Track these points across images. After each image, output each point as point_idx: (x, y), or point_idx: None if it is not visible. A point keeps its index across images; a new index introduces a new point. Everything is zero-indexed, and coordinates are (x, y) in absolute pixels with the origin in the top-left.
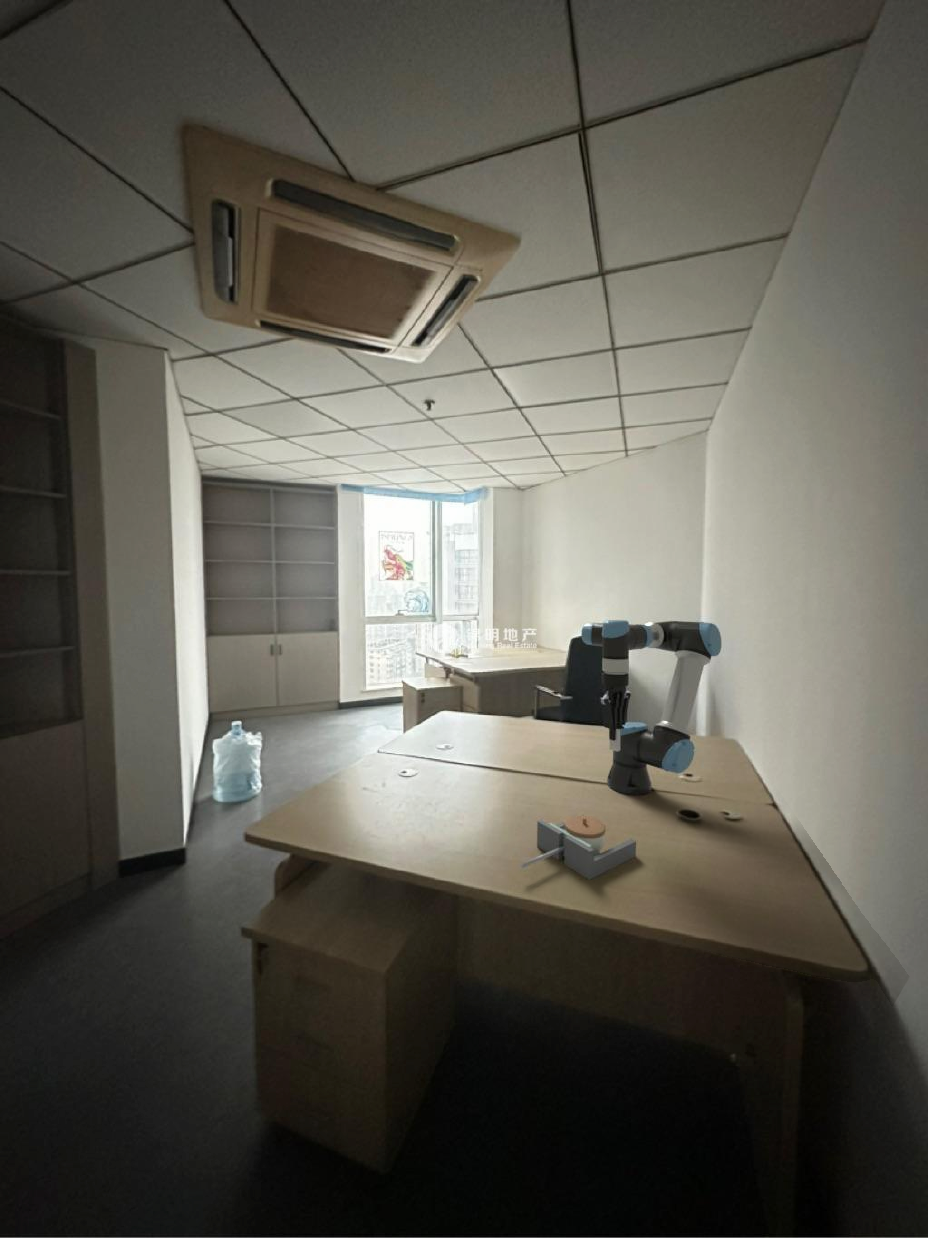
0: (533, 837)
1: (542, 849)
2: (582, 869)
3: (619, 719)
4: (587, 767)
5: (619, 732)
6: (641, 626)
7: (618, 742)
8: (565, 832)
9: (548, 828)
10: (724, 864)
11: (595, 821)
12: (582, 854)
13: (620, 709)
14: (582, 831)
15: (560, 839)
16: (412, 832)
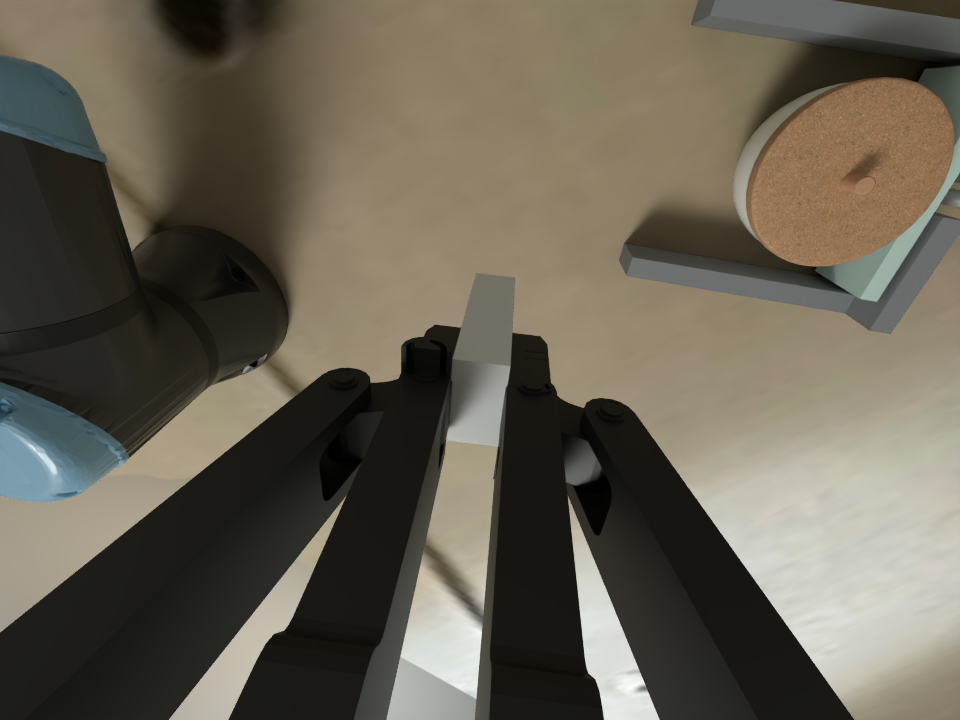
0: (782, 333)
1: None
2: None
3: (434, 443)
4: (226, 450)
5: (472, 344)
6: None
7: (495, 304)
8: (922, 215)
9: (924, 278)
10: None
11: (798, 158)
12: None
13: (377, 573)
14: (938, 147)
15: (938, 214)
16: (936, 543)
